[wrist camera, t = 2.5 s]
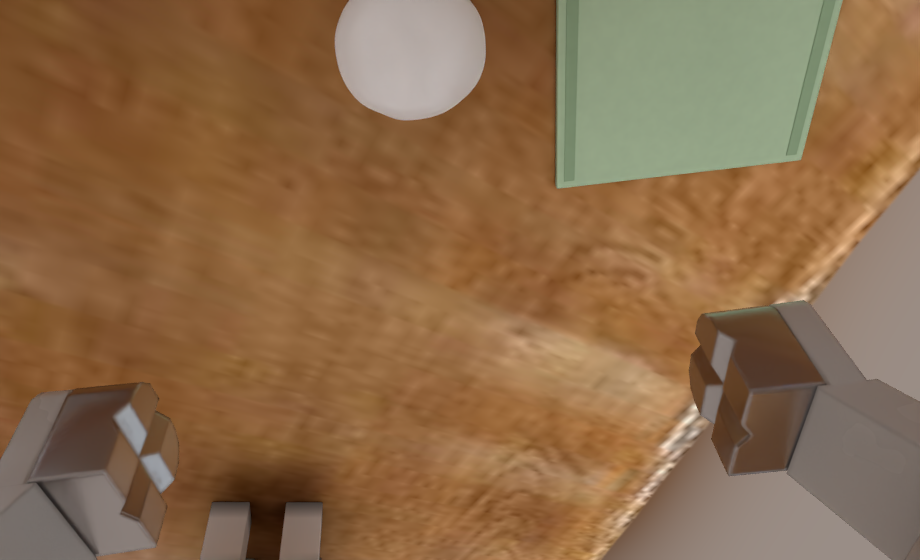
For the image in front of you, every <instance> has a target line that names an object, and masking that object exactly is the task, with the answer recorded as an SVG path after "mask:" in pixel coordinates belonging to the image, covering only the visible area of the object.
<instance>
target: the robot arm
mask: <svg viewBox="0 0 920 560" xmlns="http://www.w3.org/2000/svg"><path fill="white" fill-rule="evenodd" d="M695 334H696V336H697V338H698V340H699V342H700V344H701V345H700V346H699V347H698V348H697V349H696V350H695V351H694V352H693V353H692V354H691V359H690V367H689V376H690V386H691V391H692V394H693V398H694V401H695V404H696V406H697V408H698V411H699V413H700V415H701V416H703V417H704V418H706V419H707V420H709V421H710V422H712V423H713V424H714V429H713V434H712V438H711V439H712V442H713V443H714V446H715V448H716V450H717V452H718V455H719V457H720V459H721V461H722V463H723V465H724V468H725V469H726V472H727V474H728V476H736V475H746V474H756V473H767V472H776V471H787V474H788V475H789V476H790V477H792V478H793V479H794V480H795V481H797V482H798V483H799V484H800V485H801V486H803V487H804V488H805V489H806V490H807V491H809V492H810V493H811V494H812V495H813V496H815V497H816V498H817V499H818V500H819V501H821V502H822V503H823V504H824V505H826V506H827V507H828V508H829V509H830V510H832V511H833V512H834V513H835V514H836V515H838V516H839V517H840V518H841V519H843V520H844V521H845V522H846V523H847V524H849V525H850V526H851V527H852V528H854V529H855V530H856V531H857V532H858V533H860V534H861V535H862V536H863V537H864V538H866V539H867V540H868V541H869V542H871V543H872V544H873V545H874V546H875V547H877V548H878V549H879V550H880V551H881V552H883V553H884V554H885V555H886V556H888V557H889V558H890V559H891V560H920V402H919V401H917V400H916V399H913V398H912V397H910V396H908V395H906V394H904V393H902V392H901V391H899V390H897V389H895V388H893V387H891V386H889V385H887V384H885V383H884V382H882V381H880V380H878V379H874V380H866V378H865V377H864V376H863V374H862V373H861V372H860V371H859V369H858V368H857V366H856V365H855V364H854V362H853V361H852V359H851V358H850V357H849V355H848V354H847V353H846V351H845V350H844V349H843V347H842V346H841V345H840V343H839V342H838V340H837V339H836V338H835V336H834V335H833V334H832V332H831V331H830V330H829V328H828V327H827V326H826V324H825V323H824V322H823V320H822V319H821V317H820V316H819V315H818V313H817V312H816V311H815V309H814V308H813V307H812V305H811V304H809V303H808V302H806V301H804V300H802V301H795V302H787V303H780V304H772V305H769V306H757V307H750V308H742V309H735V310H727V311H719V312H712V313H704V314H701V316H700V317H699V319H698V321H697V326H696V331H695ZM158 400H159V397H158V396H157V394H156V392H155V391H154V389H153V387H152V386H151V384H150V383H144V382H139V383H128V384H118V385H108V386H97V387H87V388H77V389H74V390H63V391H53V392H42V393H40V394H39V395H37V396H36V397H35V398H33V399H32V400H31V402H30V403H29V405H28V407H27V409H26V411H25V413H24V415H23V417H22V419H21V421H20V423H19V425H18V427H17V428H16V430H15V432H14V434H13V436H12V438H11V440H10V442H9V444H8V446H7V448H6V450H5V452H4V454H3V456H2V457H1V459H0V560H97V558H96V556H103V555H109V554H116V553H123V552H129V551H136V550H142V549H149V548H155V547H156V546H157V542H158V539H159V535H160V531H161V528H162V524H163V520H164V517H165V513H166V510H167V505H166V503H165V501H164V499H163V498H162V496H161V493H162V492H163V491H164V490H165V489H166V488H167V487H168V486H169V485H170V484H171V483H172V482H173V481H174V480H175V476H176V472H177V468H178V464H179V441H178V437H177V433H176V429H175V427H174V425H173V423H172V421H171V420H170V418H169V417H167V416H165V415H163V414H161V413H159V412H158V411H156V407H157V404H158Z"/></svg>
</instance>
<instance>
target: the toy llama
mask: <svg viewBox="0 0 920 560" xmlns="http://www.w3.org/2000/svg"><path fill="white" fill-rule="evenodd" d="M250 528H251V512H250V502H212V505H211V510H210V515H209V519H208V524H207V529H206V533H205V538H204V543H203V547H202V552H201V556H200V560H255V559H246V553H247V546H248V540H249V534H250ZM321 530H322V502H286V509H285V517H284V525H283V533H282V541H281V549H280V557H279V560H321V559H322V558H319V557H320V544H321Z"/></svg>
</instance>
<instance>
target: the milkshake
mask: <svg viewBox="0 0 920 560" xmlns="http://www.w3.org/2000/svg"><path fill="white" fill-rule="evenodd" d="M335 52H336V58H337V63H338V67H339V70H340V73H341V76H342V78H343V80H344V82H345V84H346V86H347V88H348V89H349V91H350V92H351V93H352V95H353V96H354V97H355V98H356V99H357V100H358V101H359V102H360V103H361V104H363V105H364V106H366V107H368V108H370V109H372V110H374V111H376V112H379V113H381V114H384V115H386V116H389V117H391V118H394V119H398V120H418V119H424V118H429V117H433V116H436V115H439V114H442V113H444V112H446V111H448V110H449V109H451V108H453V107H454V106H455V105H457V104H458V103H459V102H460V101H461V100H463V99H464V98H465V97H466V96H467V95H468V94H469V93H470V92H471V91H472V90H473V88H474V87H475V86H476V84H477V82H478V81H479V79H480V77H481V74H482V71H483V68H484V64H485V57H486V42H485V33H484V28H483V24H482V20H481V17H480V15H479V13H478V11H477V9H476V8H475V6H474V5H473V4H472V2H471V1H470V0H348V1H347V3H346V5H345V7H344V9H343V11H342V13H341V16H340V18H339V21H338V24H337V28H336V33H335Z"/></svg>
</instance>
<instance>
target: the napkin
mask: <svg viewBox="0 0 920 560" xmlns="http://www.w3.org/2000/svg"><path fill="white" fill-rule="evenodd" d="M842 1H843V0H556V173H555V185H556V187H557V188H567V187H575V186H584V185H592V184H601V183H609V182H618V181H626V180H635V179H643V178H652V177H660V176H669V175H677V174H686V173H695V172H703V171H712V170H720V169H729V168H737V167H746V166H754V165H763V164H771V163H780V162H788V161H797V160H801V158H802V154H803V150H804V146H805V142H806V139H807V135H808V131H809V127H810V123H811V119H812V116H813V112H814V108H815V104H816V100H817V96H818V93H819V89H820V85H821V81H822V77H823V73H824V70H825V66H826V62H827V58H828V54H829V51H830V47H831V43H832V39H833V35H834V31H835V28H836V24H837V20H838V16H839V12H840V8H841V5H842Z"/></svg>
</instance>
